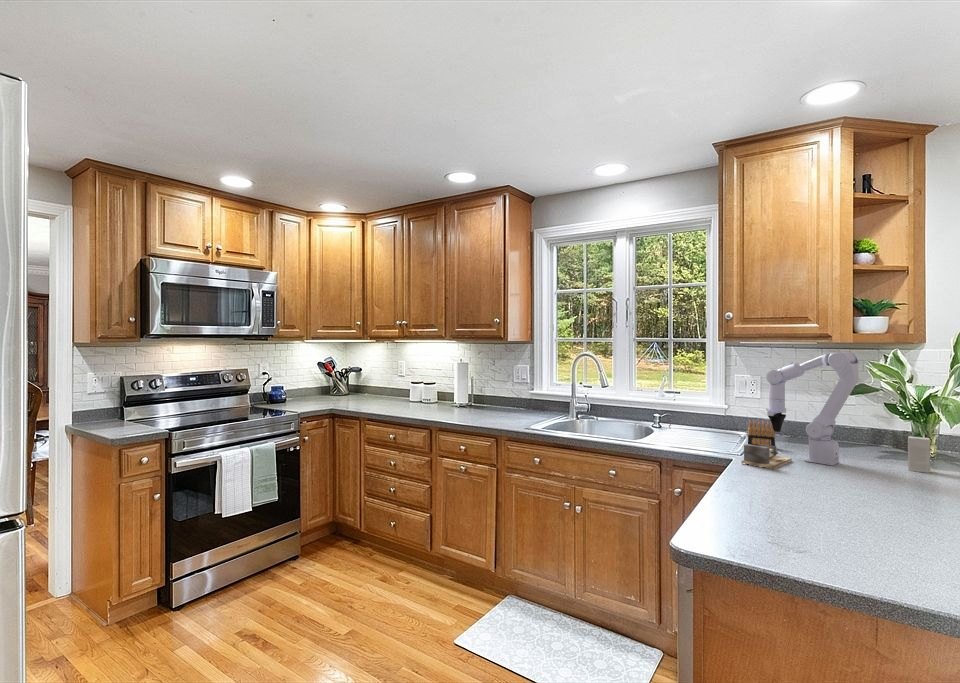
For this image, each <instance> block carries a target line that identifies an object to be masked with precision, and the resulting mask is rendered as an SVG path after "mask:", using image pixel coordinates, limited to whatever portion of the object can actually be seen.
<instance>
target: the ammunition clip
mask: <svg viewBox="0 0 960 683" xmlns="http://www.w3.org/2000/svg"><path fill="white" fill-rule="evenodd" d="M756 421H757V420H755V419H754V420H753V422H752V420H751V419H749V421H748V427H747V444H751V445H758V446H759V444H762V445H769V446H776V432H774V430H773V427H772V423H771V424H770V422H769V421H770V420H767V422H765V420H764V419H763V420H762V422H761V421H760V420H759V419H758V421H757V422H756Z"/></svg>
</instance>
